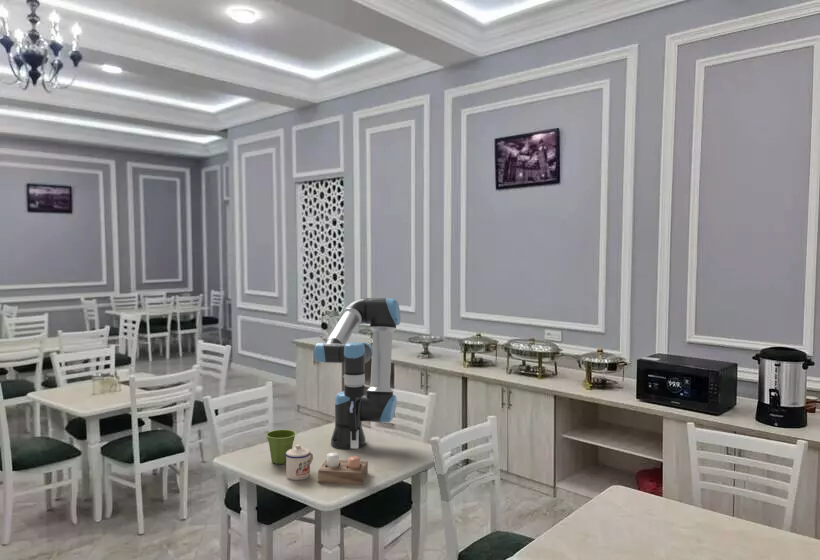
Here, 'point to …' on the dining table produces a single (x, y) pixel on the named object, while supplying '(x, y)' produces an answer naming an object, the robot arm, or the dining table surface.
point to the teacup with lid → (298, 463)
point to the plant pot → (280, 444)
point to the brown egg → (354, 462)
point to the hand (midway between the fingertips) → (354, 447)
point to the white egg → (333, 460)
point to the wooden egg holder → (343, 473)
